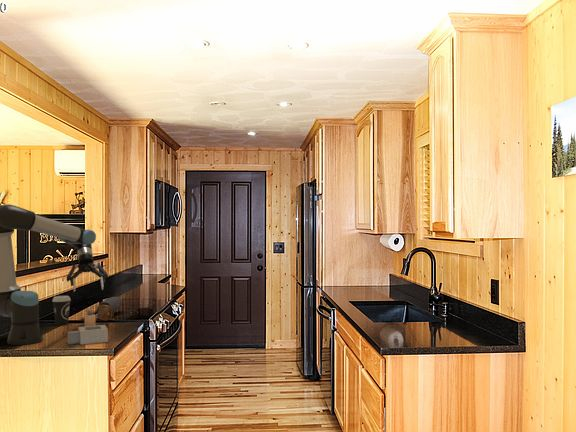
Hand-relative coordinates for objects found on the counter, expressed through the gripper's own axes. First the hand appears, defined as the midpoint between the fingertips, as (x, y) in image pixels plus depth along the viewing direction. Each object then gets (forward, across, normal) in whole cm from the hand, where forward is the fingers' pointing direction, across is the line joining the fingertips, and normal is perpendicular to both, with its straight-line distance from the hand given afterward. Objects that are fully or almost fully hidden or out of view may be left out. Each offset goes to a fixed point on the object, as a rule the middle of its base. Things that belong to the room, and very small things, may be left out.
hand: (88, 289), depth 285 cm
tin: (-5, -11, -36) cm, 38 cm away
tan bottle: (+23, +1, -7) cm, 24 cm away
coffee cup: (-4, +12, -35) cm, 37 cm away
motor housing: (+33, +3, +3) cm, 33 cm away
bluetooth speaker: (-16, -16, -47) cm, 52 cm away
